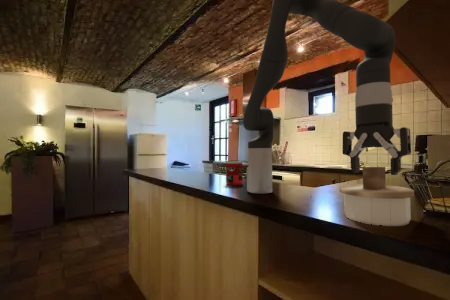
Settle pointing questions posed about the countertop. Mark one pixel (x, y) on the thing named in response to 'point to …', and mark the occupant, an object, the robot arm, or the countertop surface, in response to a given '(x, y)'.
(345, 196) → the cream bowl
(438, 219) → the countertop surface
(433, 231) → the countertop surface
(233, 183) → the canned food
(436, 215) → the countertop surface
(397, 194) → the oak lid
